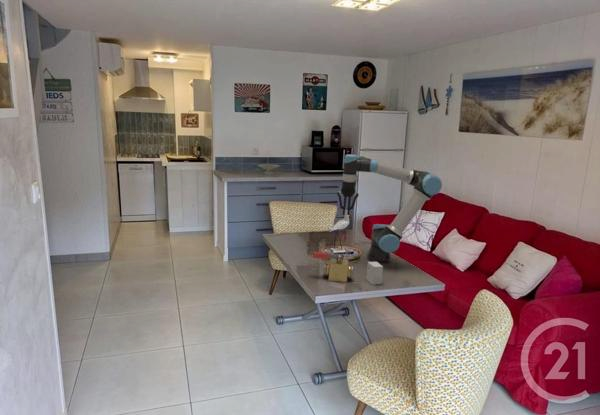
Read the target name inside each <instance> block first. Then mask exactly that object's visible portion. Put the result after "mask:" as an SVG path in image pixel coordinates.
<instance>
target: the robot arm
mask: <svg viewBox="0 0 600 415" xmlns="http://www.w3.org/2000/svg"><path fill="white" fill-rule="evenodd" d="M357 172H361V173H373V174H378V175H381V176H384V177H388V178H391V179H394V180H398V181H401V182H405V183H406V184H407V185H409V186H411V187H413V188H412V190H413V192H412V194H411V195H410V196H409V198H408V200H407V201H406V202H405V203H404V205H403V207H402V208H401V210H400V211H399V212H398V214H397V215H396V216H395V217H394V219H393V221H392V222H391V223H390V224H383V223H382V224H381V223H380V224H379V223H376V224H373V226H372V229H371V230H372V232H371V238H370V239H371V241H370V247H369V250H368V252H367V254H366V259H367V260H368V261H369V262H378V263H379V264H387V263H390V262H391V258H392V256H391V253H394V252H396V251H397V250H398V249H399V247H400V244H401V240H402V238H403V236H404V235H403V232H404V231H405V230H406V229H407V227H408V226H409V224H410V223H411V222H412V220H413V219H414V218H415V216H416V215H417V214H418V212H419V211H420V210H421V208H422V206H423V205H424V204H425V202H426V201H430V200H431V198H432V197H433V196H436V195H437V194H439V193H440V192H441V190H442V187H443V183H442V180H441V178H440V177H439V176H437V175H436V174H435V173H431V172H428V171H422V170H417V169H408V168H402V167H401V166H396V165H393V164H389V163H387V162H383V161H378V160H377V159H373V158H368V157H365V156H363V155H361V156H358V155H357V154H351V153H350V154H348V153H347V154H346V155H344V160H343V173H342V183H341V189H340V190H339V191H337V192H336V195H337V196H338V200H339V207H340V209H341V210H342V215H344V218H343V221H345V222H347V220H348V216H350V210H353V209H354V207H355V204H356V201H357V198H358V197H359V193H358V192H356V190H355V189H356V179H357ZM341 195H343V197H344V198H343V202H342V196H341ZM353 196H354V197H353ZM352 197H353V200H351V199H352ZM347 198H348V200H347ZM351 201H352V202H351ZM346 205H347V208H346Z"/></svg>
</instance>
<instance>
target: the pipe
mask: <svg viewBox="0 0 600 415" xmlns="http://www.w3.org/2000/svg"><path fill="white" fill-rule="evenodd" d="M327 263H328V262H324V266H323V277H327V276H326V266H327ZM353 276H354V265H353V264H351V276H350V278H349V280H353V279H354V278H353Z"/></svg>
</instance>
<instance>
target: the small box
mask: <svg viewBox="0 0 600 415" xmlns="http://www.w3.org/2000/svg"><path fill="white" fill-rule="evenodd" d="M383 270H384V265H381V263H378V262H373V261H367V269H366V279H365V280H366V281H368V282H369V283H370V284H371V285H374V286H375V285H376V286H377V285H382V282H383V281H382V280H383V274H384V273H383V272H384V271H383Z"/></svg>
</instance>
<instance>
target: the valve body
mask: <svg viewBox="0 0 600 415" xmlns="http://www.w3.org/2000/svg"><path fill="white" fill-rule="evenodd" d="M326 263H327V266H326V276H325V277H328V281H329V282H330V281H331V282H339V281H341V282H340V283H347V282H348V279H350V276H351V265H352V264H351V265H349V259H347V258H346V259H345V258H343V260H336V259H330V261H329V262H326Z"/></svg>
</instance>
